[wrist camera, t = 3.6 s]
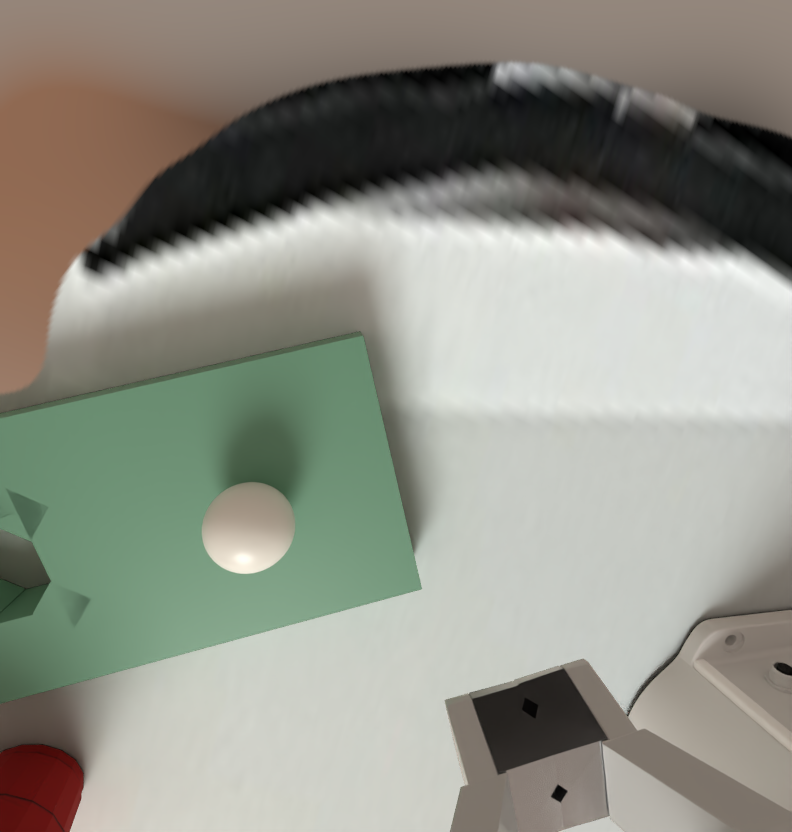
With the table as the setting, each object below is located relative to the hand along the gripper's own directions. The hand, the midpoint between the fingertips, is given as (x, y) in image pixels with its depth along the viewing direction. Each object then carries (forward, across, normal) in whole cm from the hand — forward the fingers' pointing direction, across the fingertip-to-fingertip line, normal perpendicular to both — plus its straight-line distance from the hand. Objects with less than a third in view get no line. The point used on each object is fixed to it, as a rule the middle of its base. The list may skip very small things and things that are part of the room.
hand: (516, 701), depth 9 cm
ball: (+12, -8, 0) cm, 14 cm away
